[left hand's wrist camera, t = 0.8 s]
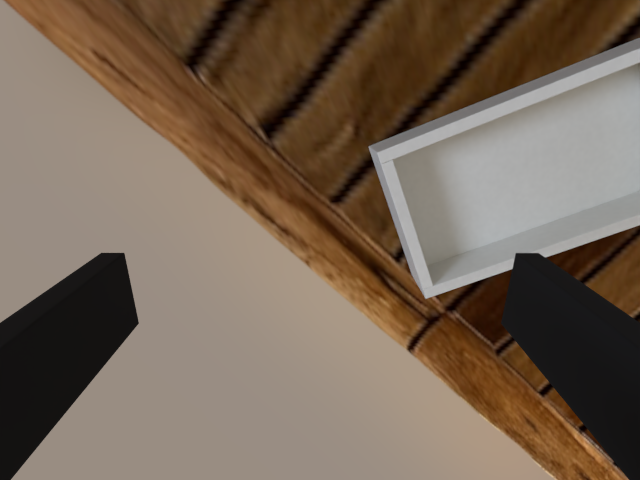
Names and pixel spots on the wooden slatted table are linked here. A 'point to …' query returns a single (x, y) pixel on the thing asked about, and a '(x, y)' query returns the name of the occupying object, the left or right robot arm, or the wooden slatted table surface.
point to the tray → (518, 172)
